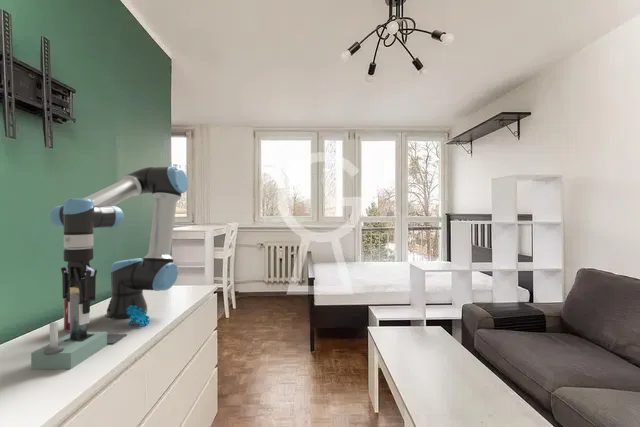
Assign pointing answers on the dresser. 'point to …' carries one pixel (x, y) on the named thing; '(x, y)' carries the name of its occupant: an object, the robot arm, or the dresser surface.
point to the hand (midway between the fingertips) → (78, 322)
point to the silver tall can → (76, 316)
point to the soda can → (66, 316)
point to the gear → (137, 315)
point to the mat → (114, 338)
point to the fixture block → (67, 350)
